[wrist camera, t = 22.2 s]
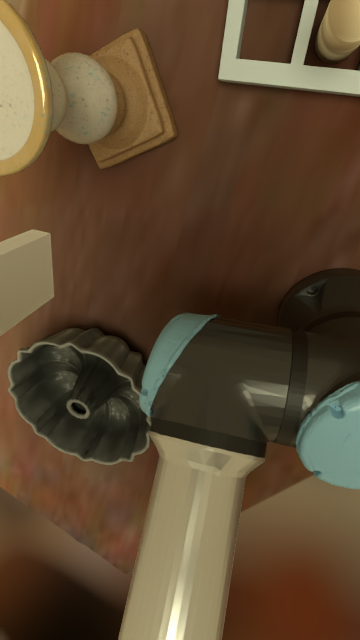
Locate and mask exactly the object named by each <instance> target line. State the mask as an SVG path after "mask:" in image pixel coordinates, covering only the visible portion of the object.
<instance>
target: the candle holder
mask: <svg viewBox="0 0 360 640" xmlns="http://www.w3.org/2000/svg"><path fill="white" fill-rule="evenodd" d="M54 130H56V131H57V132H58V133H59V134H60V135H61V136H63V137H64V138H66V139H68V140H69V141H72V142H74V143H78V144H88V145H89V147H90V149H91V152H92V154H93V156H94V158H95V160H96V162H97V164H98V166H99V168H100V169H105V168H109V167H112V166H115V165H117V164H120V163H122V162H124V161H126V160H128V159H131V158H133V157H135V156H137V155H140V154H142V153H144V152H146V151H149V150H151V149H153V148H155V147H158V146H160V145H162V144H164V143H166V142H168V141H170V140H172V139H174V138H176V137H177V136H178V131H177V127H176V124H175V120H174V117H173V114H172V111H171V108H170V105H169V102H168V99H167V96H166V92H165V89H164V86H163V83H162V80H161V77H160V74H159V71H158V68H157V65H156V62H155V59H154V56H153V53H152V50H151V47H150V44H149V42H148V39H147V36H146V34H145V33H144V32H143V31H142V30H140V29H139V28H137V29H134V30H132V31H130V32H128V33H126V34H124V35H122V36H120V37H119V38H117V39H116V40H114V41H112V42H111V43H109V44H107V45H106V46H104V47H103V48H101V49H99V50H98V51H96V52H94V53H93V54H91V55H90V56H88V55H86V54H83V53H78V52H69V53H65V54H62V55H60V56H58V57H56V58H55V59H53V60H52V61H51V62H49V61H48V60H46V59H45V58H44V56H43V53H42V51H41V48H40V46H39V44H38V42H37V40H36V38H35V36H34V34H33V33H32V31H31V30H30V28H29V27H28V25H27V23H26V22H25V20H24V19H23V18H22V17H21V15H20V14H19V13H18V12H17V11H16V10H15V8H14V7H13V6H12V5H11V4H10V3H9V2H8V1H7V0H0V176H6V175H12V174H15V173H18V172H21V171H23V170H24V169H26V168H27V167H29V166H30V165H32V164H33V162H34V161H35V160H36V159H37V158H38V157H39V156H40V154H41V153H42V151H43V150H44V148H45V146H46V143H47V141H48V139H49V135H50V132H52V131H54Z"/></svg>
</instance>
